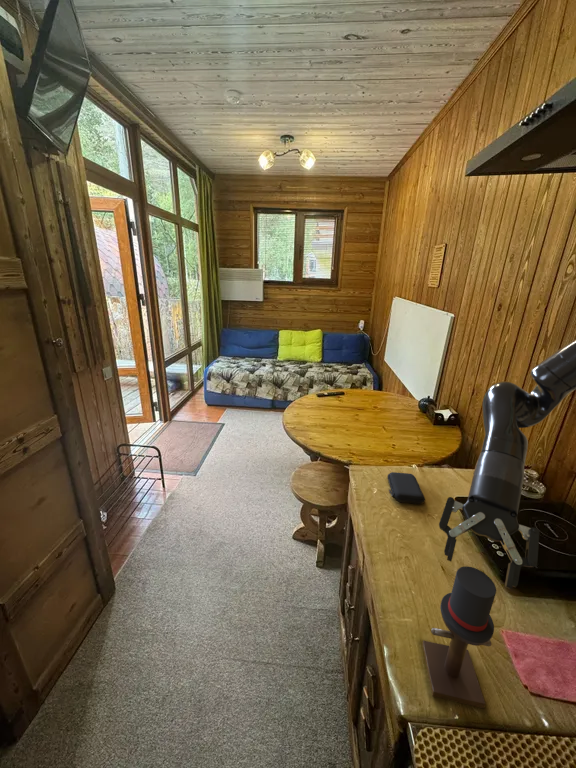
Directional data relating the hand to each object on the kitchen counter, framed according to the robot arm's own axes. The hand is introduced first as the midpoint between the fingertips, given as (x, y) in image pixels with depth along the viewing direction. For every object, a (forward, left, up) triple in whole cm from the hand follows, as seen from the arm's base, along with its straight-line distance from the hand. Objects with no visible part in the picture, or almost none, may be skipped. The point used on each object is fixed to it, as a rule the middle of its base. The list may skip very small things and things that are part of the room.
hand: (477, 573), depth 51 cm
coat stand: (0, +4, -20) cm, 20 cm away
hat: (0, +4, -6) cm, 7 cm away
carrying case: (+18, -45, -20) cm, 53 cm away
